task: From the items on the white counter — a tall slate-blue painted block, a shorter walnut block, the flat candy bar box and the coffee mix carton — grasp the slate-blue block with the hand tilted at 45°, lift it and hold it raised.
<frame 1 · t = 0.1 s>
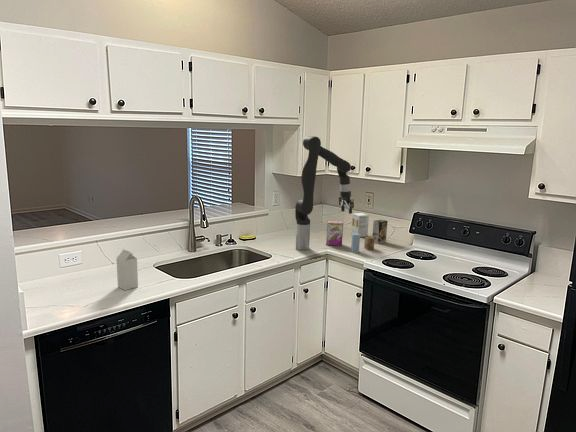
hand: (346, 212, 316), 22 cm above the worktop, tool pointing down, fingers open, 8 cm apart
walnut block: (369, 248, 307), on the worktop
candy bar box: (334, 245, 315), on the worktop
milk carton: (127, 287, 223), on the worktop
supplement box: (359, 235, 345), on the worktop
coffee box: (379, 242, 325), on the worktop
slate-blue block: (355, 251, 299), on the worktop
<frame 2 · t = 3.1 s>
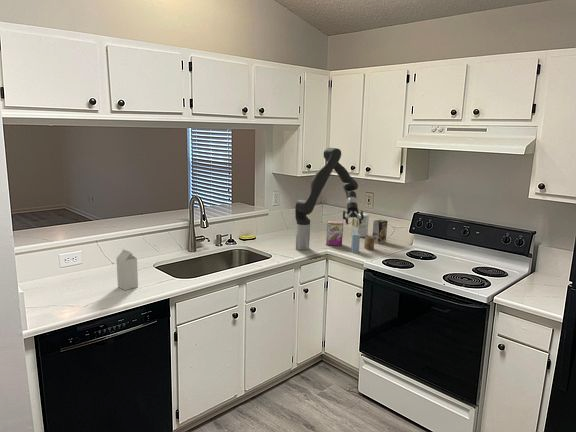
hand: (353, 224, 307), 16 cm above the worktop, tool tilted 45°, fingers open, 8 cm apart
nothing on the worktop moved.
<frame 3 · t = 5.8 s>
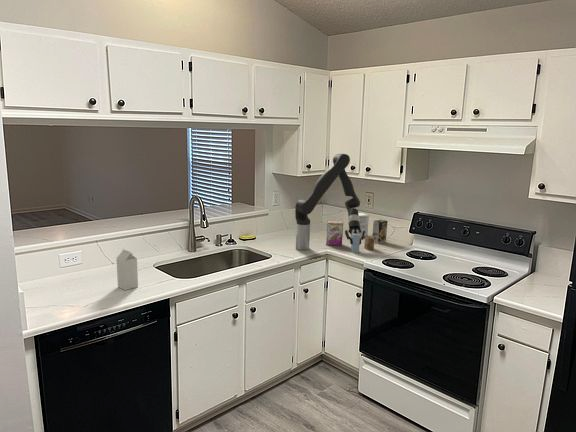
hand: (355, 244, 296), 6 cm above the worktop, tool tilted 45°, fingers closed on slate-blue block, 4 cm apart
slate-blue block: (355, 251, 299), on the worktop, touching gripper
everything else where it was.
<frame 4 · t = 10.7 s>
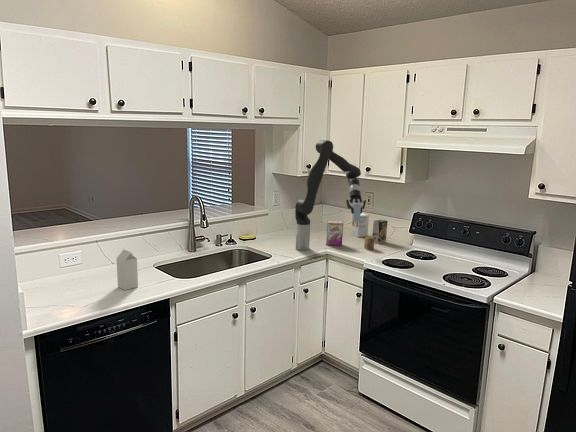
hand: (356, 213, 295), 26 cm above the worktop, tool tilted 45°, fingers closed on slate-blue block, 4 cm apart
slate-blue block: (355, 220, 298), point 20 cm above the worktop, touching gripper
everything else where it was.
at the end: the gripper is holding slate-blue block; slate-blue block point 20.4 cm above the worktop; walnut block moved 0.1 cm from its start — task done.
